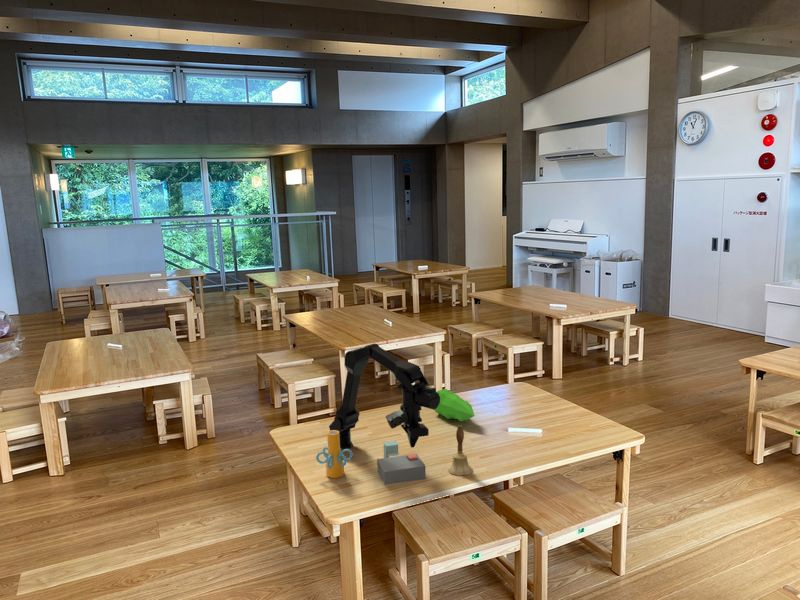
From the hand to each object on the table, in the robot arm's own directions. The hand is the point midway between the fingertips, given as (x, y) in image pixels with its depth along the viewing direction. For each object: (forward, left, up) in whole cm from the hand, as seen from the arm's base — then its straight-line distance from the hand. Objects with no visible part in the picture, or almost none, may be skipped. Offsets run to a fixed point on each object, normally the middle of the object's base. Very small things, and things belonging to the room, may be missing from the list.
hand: (412, 447), depth 202 cm
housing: (+2, -5, -9) cm, 10 cm away
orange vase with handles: (-6, -26, -9) cm, 28 cm away
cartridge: (-4, -5, -9) cm, 10 cm away
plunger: (0, 0, -8) cm, 8 cm away
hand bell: (+5, +15, -9) cm, 18 cm away
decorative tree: (-40, +29, -9) cm, 51 cm away
